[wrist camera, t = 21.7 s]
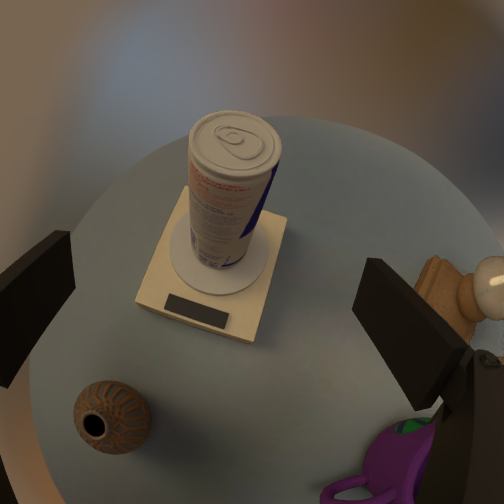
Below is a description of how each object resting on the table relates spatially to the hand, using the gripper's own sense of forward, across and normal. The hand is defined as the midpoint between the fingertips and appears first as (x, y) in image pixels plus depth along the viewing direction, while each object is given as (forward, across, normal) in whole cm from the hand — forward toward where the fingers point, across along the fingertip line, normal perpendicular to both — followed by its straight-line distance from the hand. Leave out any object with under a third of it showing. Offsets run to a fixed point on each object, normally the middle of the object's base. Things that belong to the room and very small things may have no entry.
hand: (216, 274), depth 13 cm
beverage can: (+18, +1, -5) cm, 18 cm away
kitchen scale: (+19, 0, -8) cm, 20 cm away
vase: (+7, -8, -20) cm, 23 cm away
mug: (+2, +19, -25) cm, 31 cm away
